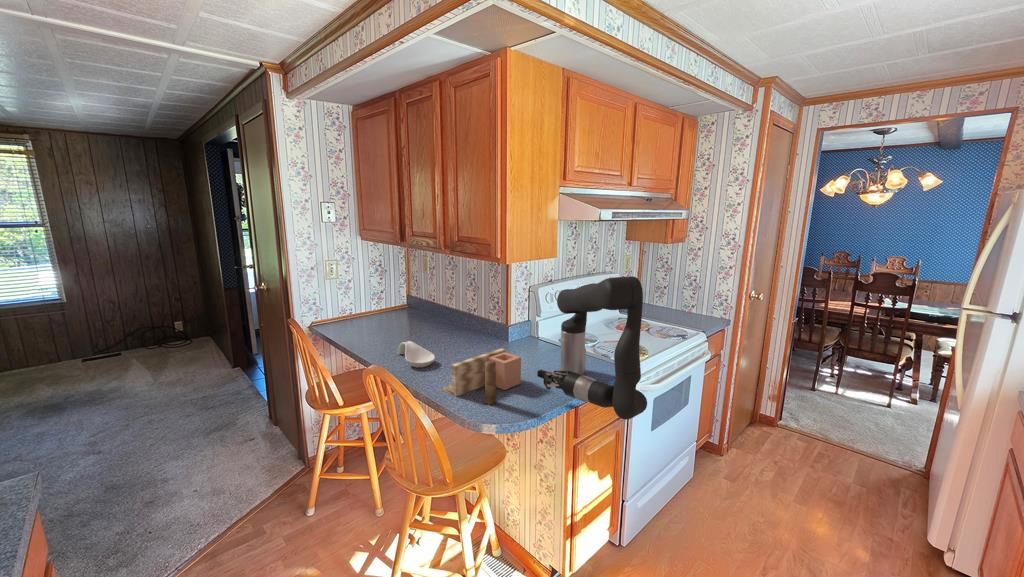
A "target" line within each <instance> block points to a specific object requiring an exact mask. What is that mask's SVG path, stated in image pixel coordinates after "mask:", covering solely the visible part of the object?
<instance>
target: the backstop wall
mask: <svg viewBox="0 0 1024 577" xmlns="http://www.w3.org/2000/svg"><path fill="white" fill-rule="evenodd" d="M502 352H506V349H505V348H502V347H501V348H499V349H495V350H492V351H489V352H486V353H483V354H479V355H477V356H474V357H470V358H468V359H465V360H462V361H461V360H460V361H459V362H455V363H452V364H451V365H450V366H451V384H449V385H447V386H444V387H442V390H443V391H444V392H445V393H446V394H449V395H451V396H453V397H458V396H462V395H464V394H466V393H469V392H472V391H474V390H476V389H479V388H481V387H483V386H484V387H485V362H486V361H488V357H491V356H494V355H496V354H499V353H502Z"/></svg>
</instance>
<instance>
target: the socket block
mask: <svg viewBox="0 0 1024 577" xmlns="http://www.w3.org/2000/svg"><path fill="white" fill-rule="evenodd" d="M488 361H495V362H496V388H499V389H501V390H503V391H506V390H509V389H511V388H513V387H515V386H517V385H521V383H522V356H519V355H515V354H512V353H509V352H506V351H505V352H502V353H499V354H496V355H494V356H491V357H488Z"/></svg>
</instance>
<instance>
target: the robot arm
mask: <svg viewBox="0 0 1024 577" xmlns="http://www.w3.org/2000/svg"><path fill="white" fill-rule="evenodd" d="M643 292H644V290H643V286H642V283H641V280H640V279H639V278H638V277H636V276H615V277H608V278H605V279H603V280H601V281H599V282H597V283H595V282H594V283H589V284H585V285H582V286H578V287H576V288H566V289H562V290H560V292H559V294H557V297H556V298H557V299H556V304H557V307H558V309H559V311H560V312H561V313H563V314H566V315H567V314H568V315H569V314H571V315H572V314H573V316H571V317H570V318H568V319H566V320H564V321H562V322H561V325H560V326H561V327H560V328H561V329H560V330H561V331H560V365H559V366H560V370H554V371H547V370H545V369H538V370H537V371H536V372H537V377H538V378H541V379H543V384H544V386H545V388H546V389H547V390H551V389H552V388H553V387H555V389H559V390H562V391H563V393H564V395H566V396H568V397H571V398H573V399H576V400H579V401H580V402H583V403H584V402H585V403H588V404H589V403H590V404H592V405H595V406H598V407H600V408H613V411H614V412H615V414H616V416H618V417H619V419H622V420H625V421H626V420H631V419H632V418H635V417H636V416H637V417H638V416H639V415H640V414H643V413H644V412H645V410H646V409H647V407H648V399H647V397H646V396H645V394H644V393H642V392H641V391H640V390H639V389H637V385H638V383H640V381H641V377H642V372H641V370H642V369H641V357H640V356H641V355H640V354H641V352H640V341H641V330H642V319H643V317H642V316H643V303H644V293H643ZM602 310H607V311H620V310H627V317H626V323H625V326H624V329H623V332H622V333H621V335H620V337H619V339H618V341H617V343H616V346H615V349H614V355H613V356H614V358H613V361H614V374H615V381H614V384H608V383H606V382H603V381H600V380H597V379H595V378H593V377H590V376H588V375H587V376H586V375H584V374H585V372H586V362H587V361H586V360H587V359H586V358H587V356H586V354H587V349H586V327H587V321H588V318H587V317H588V313H595V312H599V311H602Z"/></svg>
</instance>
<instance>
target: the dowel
mask: <svg viewBox="0 0 1024 577" xmlns="http://www.w3.org/2000/svg"><path fill="white" fill-rule="evenodd" d="M484 387H485V388H484V390H485V391H484V393H485V394H484V395H485V396H484V397H485V399H484V400H485V405H487V406H494V405H495V404H496V405H497V387H496V362H495V361H486V362H485V385H484Z"/></svg>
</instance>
